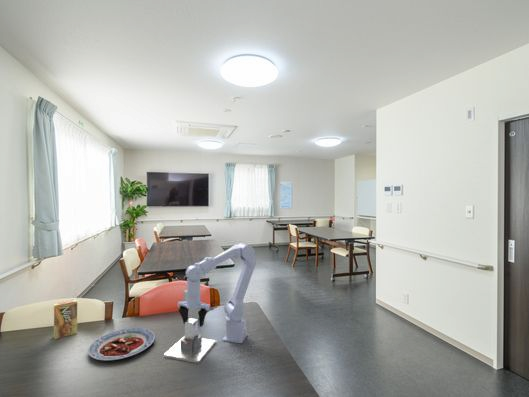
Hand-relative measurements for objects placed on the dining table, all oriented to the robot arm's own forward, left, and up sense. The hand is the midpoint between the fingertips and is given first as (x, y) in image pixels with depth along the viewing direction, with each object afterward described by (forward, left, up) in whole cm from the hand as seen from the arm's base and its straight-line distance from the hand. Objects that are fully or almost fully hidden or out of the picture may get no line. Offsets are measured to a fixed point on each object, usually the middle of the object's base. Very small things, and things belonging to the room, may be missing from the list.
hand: (193, 324), depth 118 cm
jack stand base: (0, +2, -10) cm, 10 cm away
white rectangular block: (0, +2, -6) cm, 6 cm away
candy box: (+64, +7, -10) cm, 65 cm away
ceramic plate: (+30, +8, -10) cm, 33 cm away
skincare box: (+16, -26, -10) cm, 32 cm away
